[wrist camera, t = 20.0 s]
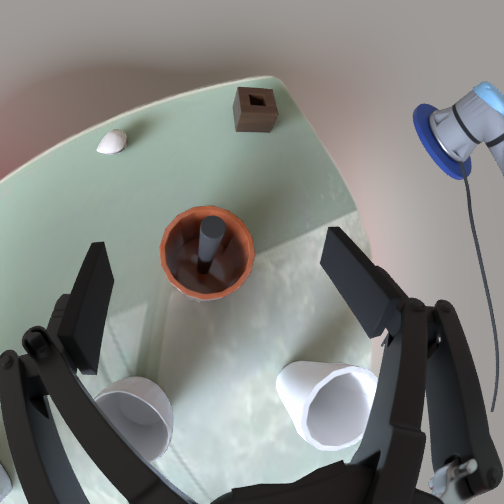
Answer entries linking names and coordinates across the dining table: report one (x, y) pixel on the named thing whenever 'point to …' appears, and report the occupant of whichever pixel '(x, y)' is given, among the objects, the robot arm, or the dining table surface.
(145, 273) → the dining table surface
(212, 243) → the rod
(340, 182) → the dining table surface
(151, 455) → the mug
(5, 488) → the cylinder vase
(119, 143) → the white seashell
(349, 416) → the foam cup
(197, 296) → the tumbler
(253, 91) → the holder
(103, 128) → the dining table surface
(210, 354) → the dining table surface
